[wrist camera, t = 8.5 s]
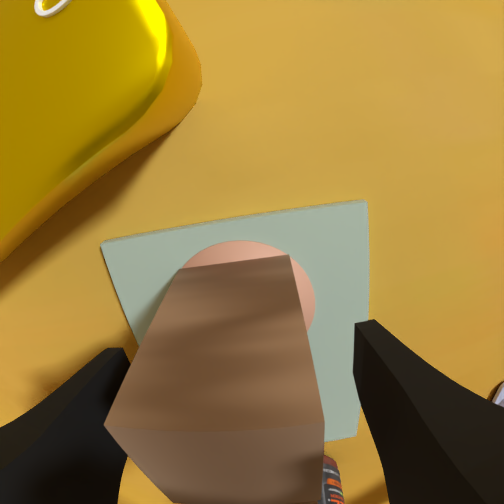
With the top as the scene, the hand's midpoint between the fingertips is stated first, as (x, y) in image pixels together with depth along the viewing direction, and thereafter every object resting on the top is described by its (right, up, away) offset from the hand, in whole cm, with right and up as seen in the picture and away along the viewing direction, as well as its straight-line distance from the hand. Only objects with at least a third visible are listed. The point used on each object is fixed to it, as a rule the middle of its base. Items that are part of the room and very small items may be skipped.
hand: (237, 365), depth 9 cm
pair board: (+1, -2, +5) cm, 5 cm away
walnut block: (0, +1, +3) cm, 3 cm away
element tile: (-11, +12, 0) cm, 16 cm away
